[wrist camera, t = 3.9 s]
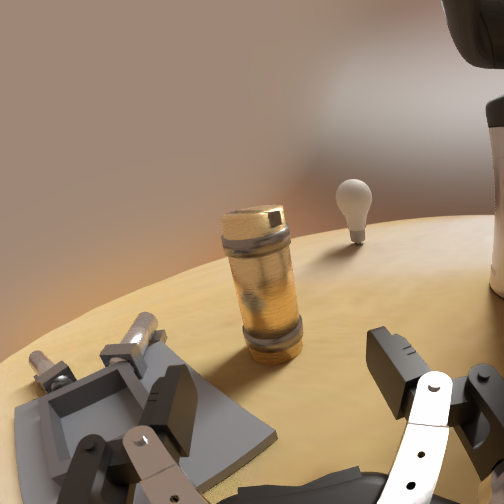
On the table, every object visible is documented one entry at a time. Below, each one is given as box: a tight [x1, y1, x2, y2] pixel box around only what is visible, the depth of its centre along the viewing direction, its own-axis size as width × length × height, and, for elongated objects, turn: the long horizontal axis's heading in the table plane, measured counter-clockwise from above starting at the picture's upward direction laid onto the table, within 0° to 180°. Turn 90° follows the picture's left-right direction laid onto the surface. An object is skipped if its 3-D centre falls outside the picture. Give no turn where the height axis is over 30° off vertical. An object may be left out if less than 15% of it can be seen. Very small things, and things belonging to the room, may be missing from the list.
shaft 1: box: [29, 351, 77, 394], centre depth 19 cm, size 8×3×4 cm, turn 62°
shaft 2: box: [100, 312, 167, 379], centre depth 24 cm, size 8×3×4 cm, turn 2°
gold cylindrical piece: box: [220, 205, 303, 365], centre depth 22 cm, size 5×5×12 cm
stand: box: [15, 341, 278, 504], centre depth 14 cm, size 16×18×3 cm
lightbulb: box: [336, 179, 372, 244], centre depth 44 cm, size 6×6×11 cm
